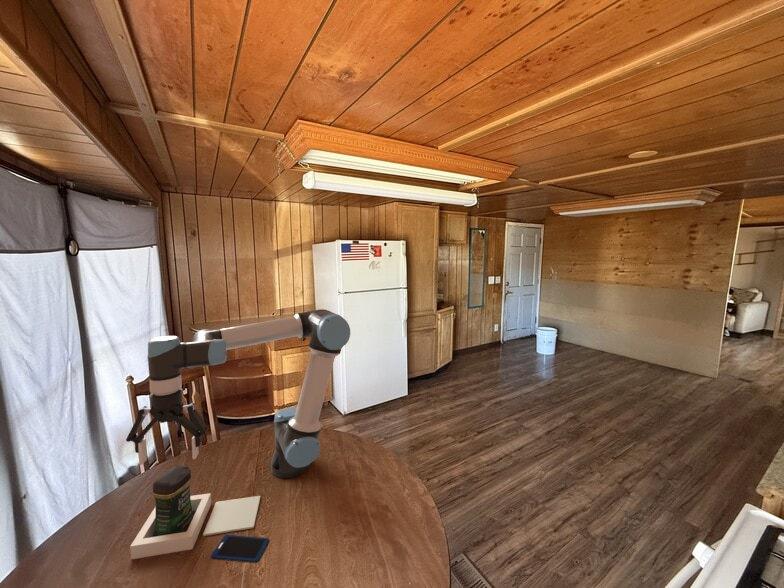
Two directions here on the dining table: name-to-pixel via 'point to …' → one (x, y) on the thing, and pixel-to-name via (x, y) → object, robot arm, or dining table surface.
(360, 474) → the dining table surface
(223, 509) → the beige board
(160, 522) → the coffee jar
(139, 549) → the cream open rectangular frame
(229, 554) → the cell phone
